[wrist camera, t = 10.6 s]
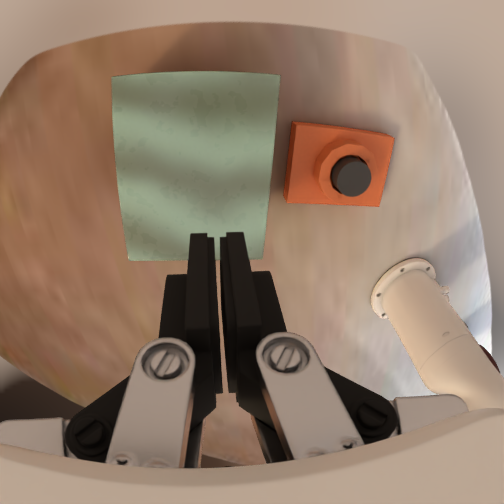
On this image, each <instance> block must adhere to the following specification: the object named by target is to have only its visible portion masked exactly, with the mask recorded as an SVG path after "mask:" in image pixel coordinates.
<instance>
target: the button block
mask: <svg viewBox="0 0 504 504" xmlns="http://www.w3.org/2000/svg"><path fill="white" fill-rule="evenodd" d="M394 139H395V138H393V137H391V136H389V135H388V134H384V133H378V132H373V131H367V130H360V129H354V128H347V127H339V126H331V125H323V124H314V123H304V122H293V121H292V125H291V134H290V143H289V152H288V161H287V170H286V178H285V186H284V195H283V196H284V198H285V200H286V202H287V203H309V204H336V205H357V206H375V207H379V204H380V200H381V197H382V192H383V188H384V184H385V180H386V176H387V171H388V167H389V163H390V158H391V153H392V148H393V144H394ZM349 156H350V157H356V158H358V159H359V160H360V161H362V162H363V163H364V164H366V165H367V166H368V168H369V169H370V171H371V183H370V185H369V187H368V189H367V190H366V191H365V192H364V193H362V194H361V195H359V196H356V197H348V196H345V195H344V194H342V193H341V192H340V191H339V190H338V189H337V187H336V186H335V185H334V184H333V182H332V177H331V174H332V169H333V167H334V165H335V164H336V163H337V162H338V161H339V160H340V159H342V158H344V157H349Z"/></svg>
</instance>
